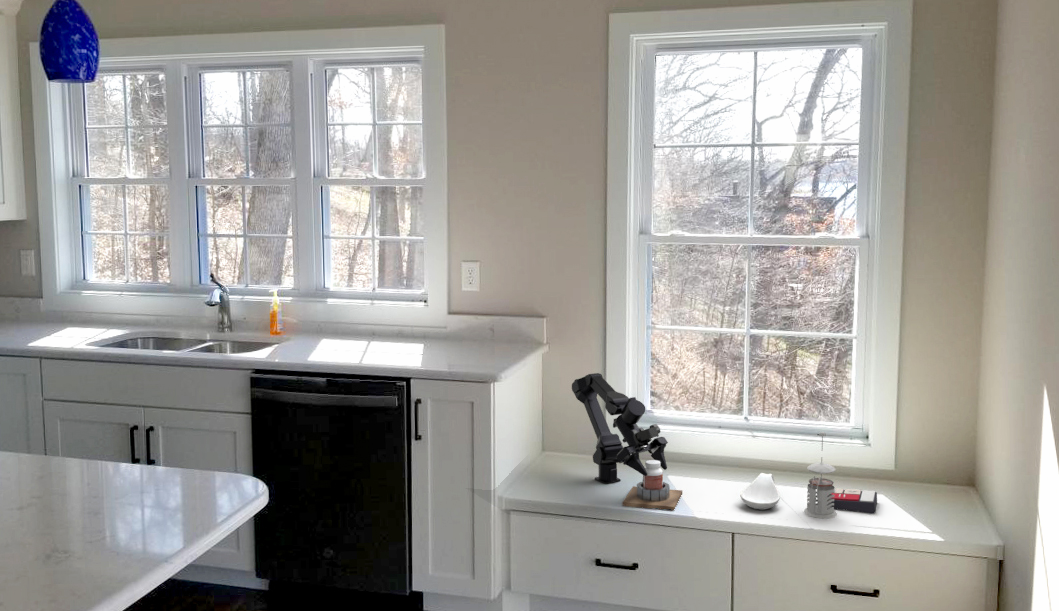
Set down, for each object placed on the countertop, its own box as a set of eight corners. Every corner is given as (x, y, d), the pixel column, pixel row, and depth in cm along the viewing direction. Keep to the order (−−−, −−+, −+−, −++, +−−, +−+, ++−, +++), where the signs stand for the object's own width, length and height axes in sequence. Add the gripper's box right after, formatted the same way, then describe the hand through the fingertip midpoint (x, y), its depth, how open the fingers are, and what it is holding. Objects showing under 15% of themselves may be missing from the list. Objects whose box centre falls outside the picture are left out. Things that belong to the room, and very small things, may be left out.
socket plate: (622, 505, 302) (622, 502, 301) (633, 489, 317) (633, 486, 317) (674, 510, 297) (674, 506, 297) (682, 494, 312) (682, 490, 312)
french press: (841, 510, 295) (843, 430, 291) (830, 522, 285) (832, 439, 282) (809, 505, 300) (811, 425, 297) (797, 516, 290) (799, 434, 287)
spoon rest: (777, 515, 292) (777, 492, 291) (737, 511, 296) (738, 488, 295) (785, 491, 314) (786, 469, 313) (748, 487, 318) (748, 466, 317)
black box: (826, 486, 307) (876, 489, 301) (826, 499, 308) (877, 502, 302) (822, 497, 297) (874, 500, 291) (822, 510, 298) (874, 514, 292)
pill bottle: (666, 497, 305) (666, 463, 304) (649, 500, 303) (649, 465, 301) (656, 491, 311) (656, 458, 309) (639, 494, 308) (639, 460, 307)
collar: (630, 494, 308) (630, 483, 308) (656, 489, 313) (656, 478, 313) (649, 503, 300) (649, 492, 299) (675, 497, 305) (675, 487, 304)
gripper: (623, 422, 300) (650, 464, 293) (663, 411, 312) (690, 452, 306) (604, 442, 307) (630, 483, 300) (644, 431, 319) (670, 471, 312)
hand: (656, 472), depth 304 cm, fingers open, 9 cm apart
